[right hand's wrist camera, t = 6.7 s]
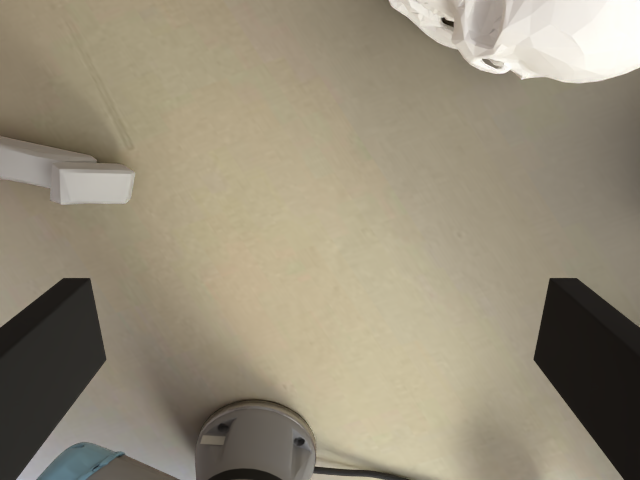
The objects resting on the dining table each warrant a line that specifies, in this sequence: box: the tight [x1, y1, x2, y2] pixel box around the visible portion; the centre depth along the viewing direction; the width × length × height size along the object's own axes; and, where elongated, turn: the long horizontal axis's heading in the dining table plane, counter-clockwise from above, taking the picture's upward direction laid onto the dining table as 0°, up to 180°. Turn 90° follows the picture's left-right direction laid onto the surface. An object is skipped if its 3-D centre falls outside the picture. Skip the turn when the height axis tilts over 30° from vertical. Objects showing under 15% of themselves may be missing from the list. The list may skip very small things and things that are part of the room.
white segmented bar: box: [0, 136, 135, 205], centre depth 41 cm, size 20×4×7 cm, turn 76°
